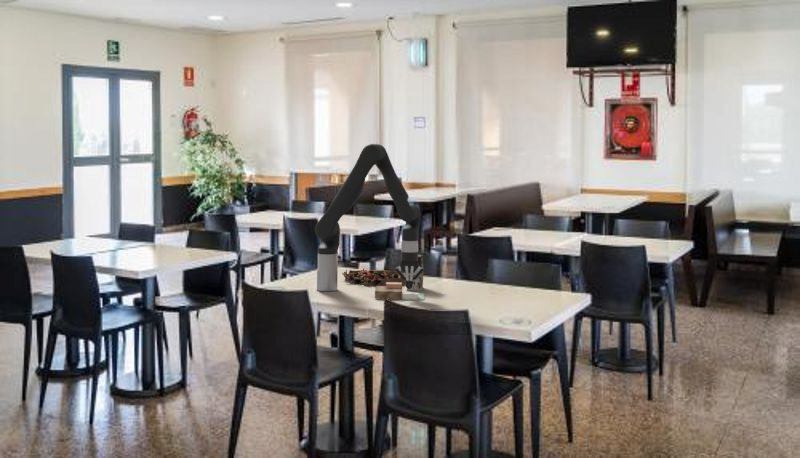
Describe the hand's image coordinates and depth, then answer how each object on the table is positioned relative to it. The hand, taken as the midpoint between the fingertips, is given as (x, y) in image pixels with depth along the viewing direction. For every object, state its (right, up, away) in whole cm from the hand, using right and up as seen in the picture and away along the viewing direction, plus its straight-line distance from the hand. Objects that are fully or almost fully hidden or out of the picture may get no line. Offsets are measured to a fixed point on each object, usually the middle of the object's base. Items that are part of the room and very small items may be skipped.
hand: (409, 288), depth 372 cm
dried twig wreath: (-16, 0, +42) cm, 45 cm away
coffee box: (+3, -2, +23) cm, 23 cm away
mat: (+2, -4, +4) cm, 6 cm away
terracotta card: (-7, 0, +7) cm, 10 cm away
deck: (-9, -4, +4) cm, 11 cm away
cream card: (0, -4, 0) cm, 4 cm away
